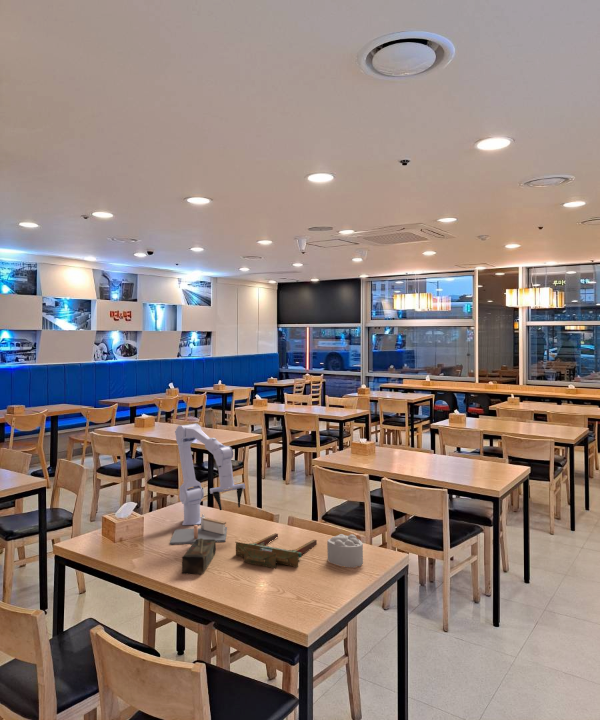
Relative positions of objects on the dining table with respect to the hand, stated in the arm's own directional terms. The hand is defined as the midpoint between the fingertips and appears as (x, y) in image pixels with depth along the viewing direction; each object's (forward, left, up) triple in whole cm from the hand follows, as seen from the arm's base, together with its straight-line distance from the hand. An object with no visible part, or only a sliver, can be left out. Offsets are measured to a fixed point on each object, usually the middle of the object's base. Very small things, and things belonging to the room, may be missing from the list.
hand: (230, 508), depth 226 cm
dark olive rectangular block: (+29, -10, -12) cm, 33 cm away
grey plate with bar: (0, -13, -11) cm, 17 cm away
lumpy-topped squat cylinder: (+34, +43, -11) cm, 56 cm away
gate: (-3, -7, -10) cm, 13 cm away
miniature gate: (+23, +18, -12) cm, 32 cm away
